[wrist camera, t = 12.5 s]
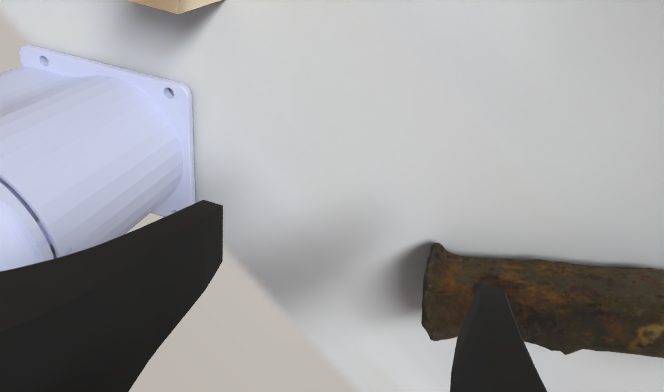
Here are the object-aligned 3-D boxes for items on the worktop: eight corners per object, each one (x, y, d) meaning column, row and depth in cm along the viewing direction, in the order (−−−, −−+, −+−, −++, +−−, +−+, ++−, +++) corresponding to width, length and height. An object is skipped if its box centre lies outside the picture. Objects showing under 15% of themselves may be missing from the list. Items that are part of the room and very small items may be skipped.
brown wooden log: (429, 295, 25) (415, 364, 21) (429, 230, 23) (414, 294, 19) (909, 354, 19) (1007, 464, 16) (962, 274, 17) (1090, 378, 14)
